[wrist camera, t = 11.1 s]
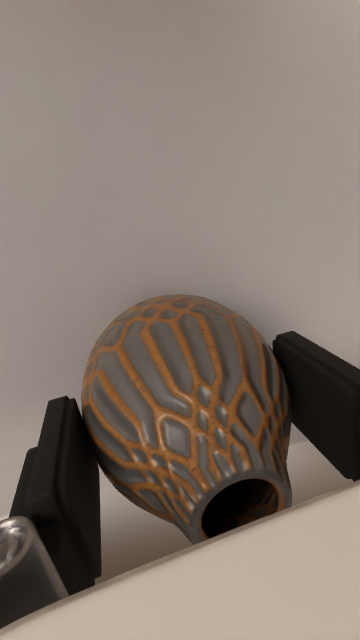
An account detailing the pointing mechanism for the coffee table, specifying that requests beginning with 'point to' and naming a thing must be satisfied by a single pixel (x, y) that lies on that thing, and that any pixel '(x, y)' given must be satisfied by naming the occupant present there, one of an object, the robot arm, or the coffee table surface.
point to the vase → (189, 415)
